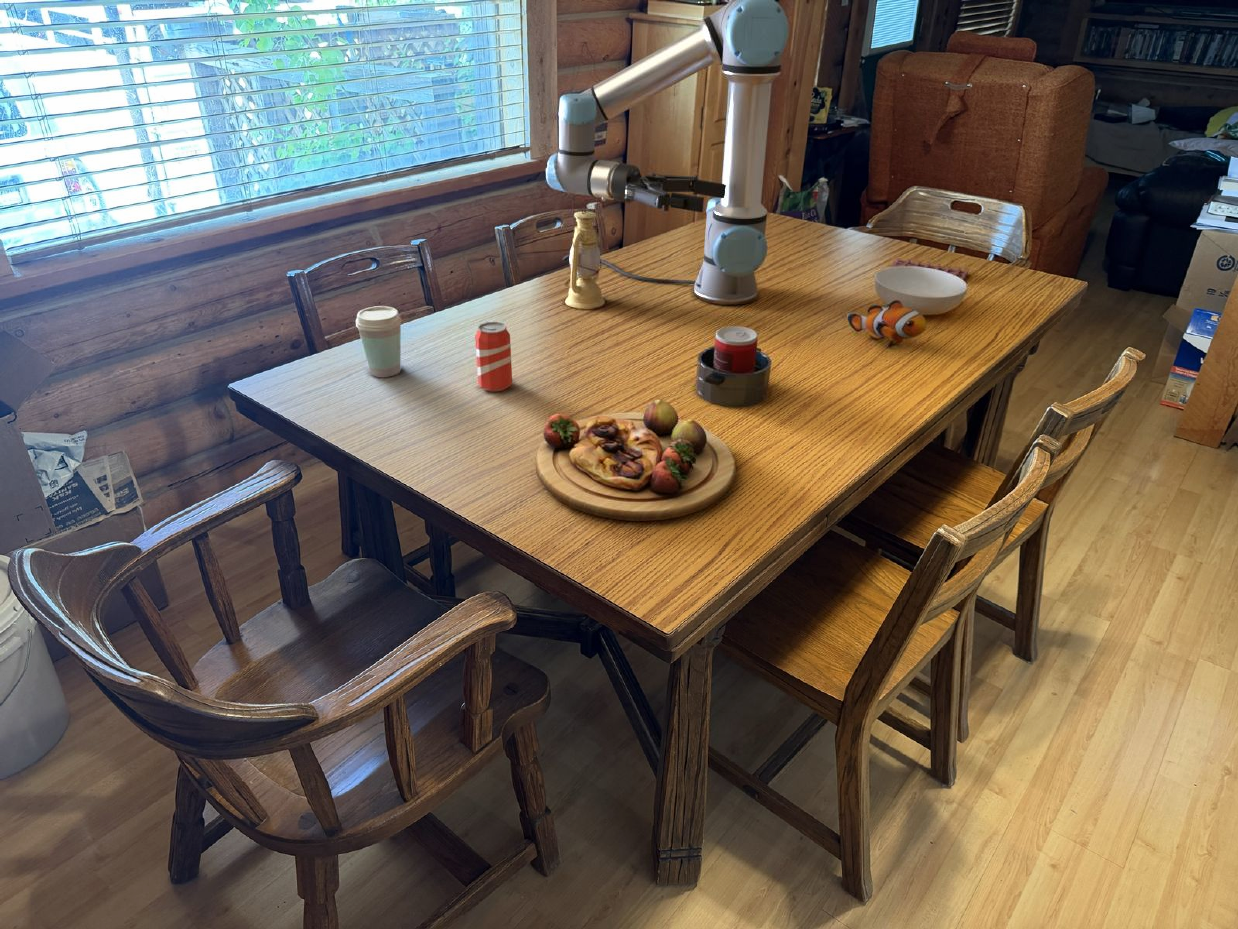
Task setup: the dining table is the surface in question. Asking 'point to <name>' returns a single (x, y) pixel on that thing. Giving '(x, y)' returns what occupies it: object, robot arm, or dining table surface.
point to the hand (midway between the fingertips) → (714, 197)
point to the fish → (889, 322)
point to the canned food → (735, 350)
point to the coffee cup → (381, 339)
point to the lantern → (584, 263)
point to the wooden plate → (634, 464)
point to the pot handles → (717, 378)
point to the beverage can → (493, 356)
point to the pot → (733, 382)
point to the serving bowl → (920, 288)
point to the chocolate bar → (932, 267)
